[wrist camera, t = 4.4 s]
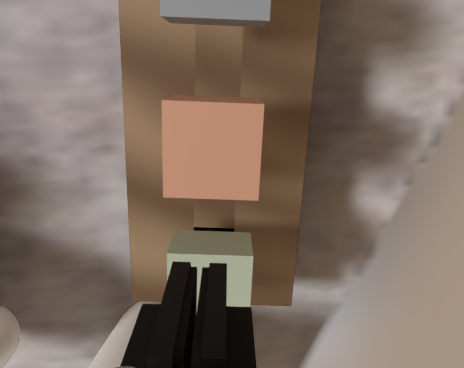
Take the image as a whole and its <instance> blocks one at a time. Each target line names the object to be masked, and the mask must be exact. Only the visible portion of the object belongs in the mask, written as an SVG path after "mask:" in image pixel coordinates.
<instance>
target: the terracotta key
mask: <svg viewBox="0 0 464 368" xmlns="http://www.w3.org/2000/svg"><path fill="white" fill-rule="evenodd" d="M161 101H162V163H163V197H165V198H194V199H222V200H251V201H258V199H259V183H260V167H261V151H262V135H263V119H264V103H263V102H262V101H261V99H260V98H238V97H213V96H187V95H170V96H168V97H166V98H165V99H163V100H161Z"/></svg>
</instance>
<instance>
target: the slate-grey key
mask: <svg viewBox="0 0 464 368" xmlns="http://www.w3.org/2000/svg"><path fill="white" fill-rule="evenodd" d="M270 8H271V0H160V17H162V18H163V19H165V20H166V21H168V22H169V23H175V24H199V25H223V26H247V27H264V26H265V25H266V24H267V23H268V22H269V21H270Z"/></svg>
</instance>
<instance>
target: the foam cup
mask: <svg viewBox="0 0 464 368" xmlns="http://www.w3.org/2000/svg"><path fill="white" fill-rule="evenodd" d="M144 303H145V304H161V302H140V301H139V302H137V303H136V304H135V305H133V306H132V307H130V308H129V309H128V310H126V313H125V314H124V315H123V316H122V317H121V319H120V320H119V322H118V323H117V325H116V326H115V328H114V329H113V331H112V332H111V334H110V335H109V337H108V338H107V340H106V341H105V343H104V344H103V346H102V347H101V349H100V350H99V352H98V353H97V355H96V356H95V358H94V359H93V361H92V362H91V364H90V365H89V367H88V368H115V367H120V365H121V362H122V360H123V357H124V354H125V351H126V348H127V345H128V343H129V340H130V337H131V334H132V331H133V328H134V326H135V323H136V320H137V317H138V314H139V311H140V309H141V306H142V304H144Z"/></svg>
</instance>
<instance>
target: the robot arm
mask: <svg viewBox="0 0 464 368" xmlns="http://www.w3.org/2000/svg"><path fill="white" fill-rule="evenodd" d="M226 299H227V263H210V264H209V267H203V268H202V275H201V283H200V291H199V298H198V306H197V267H191V262H175V261H173V262H172V266H171V269H170V273H169V277H168V280H167V284H166V287H165V291H164V295H163V298H162V302H161V304H145V303H144V304H142V306H141V309H140V311H139V314H138V317H137V320H136V323H135V326H134V328H133V331H132V334H131V337H130V340H129V343H128V345H127V348H126V351H125V354H124V357H123V360H122V362H121V365H120V367H115V368H256V358H255V346H254V335H253V323H252V312H251V307H233V306H226ZM196 311H197V314H196Z"/></svg>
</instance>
